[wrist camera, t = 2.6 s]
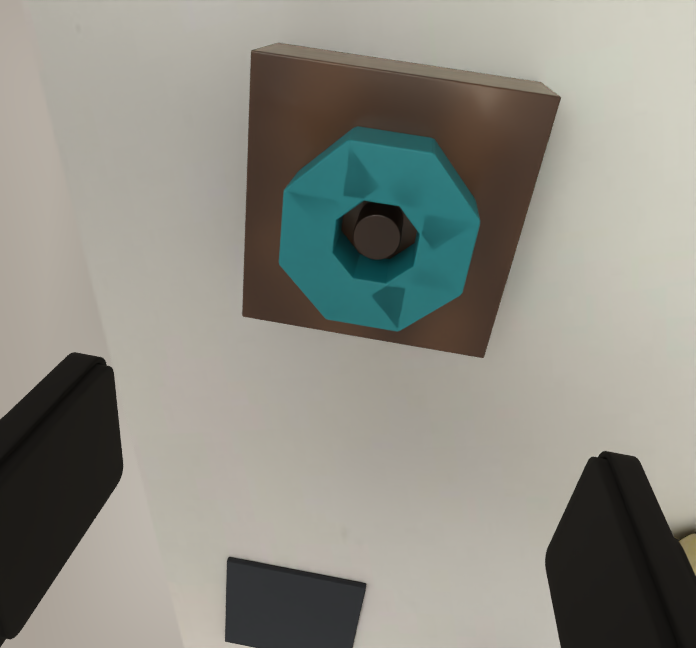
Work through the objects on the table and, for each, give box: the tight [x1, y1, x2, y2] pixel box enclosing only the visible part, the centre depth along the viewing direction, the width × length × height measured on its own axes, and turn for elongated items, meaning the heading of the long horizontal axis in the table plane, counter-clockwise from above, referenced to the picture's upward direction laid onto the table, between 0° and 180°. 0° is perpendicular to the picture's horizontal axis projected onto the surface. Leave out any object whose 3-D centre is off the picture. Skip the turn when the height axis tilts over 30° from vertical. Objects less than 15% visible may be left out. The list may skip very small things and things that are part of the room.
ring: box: [279, 126, 480, 331], centre depth 22 cm, size 7×7×2 cm
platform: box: [242, 43, 561, 358], centre depth 24 cm, size 11×11×6 cm
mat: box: [225, 557, 366, 648], centre depth 43 cm, size 10×10×1 cm
